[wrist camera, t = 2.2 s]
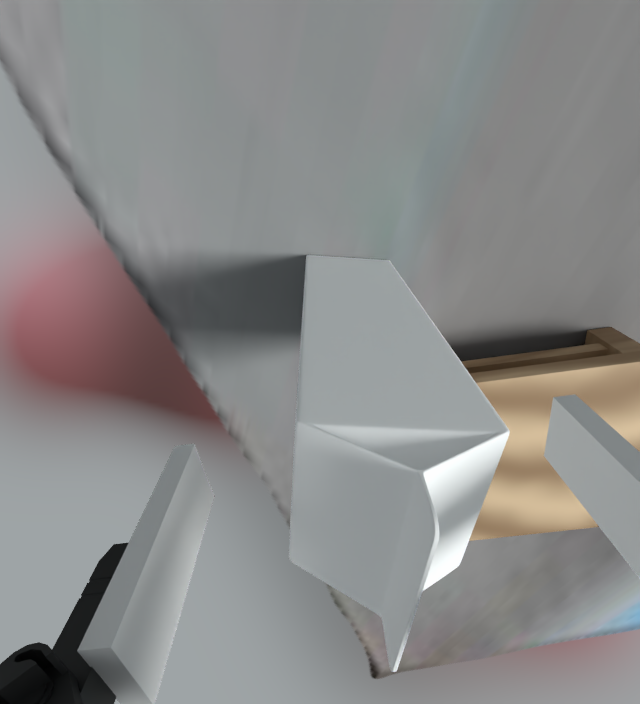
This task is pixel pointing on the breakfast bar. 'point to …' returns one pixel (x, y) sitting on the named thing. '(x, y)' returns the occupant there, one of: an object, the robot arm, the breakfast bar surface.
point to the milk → (383, 443)
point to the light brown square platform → (533, 421)
